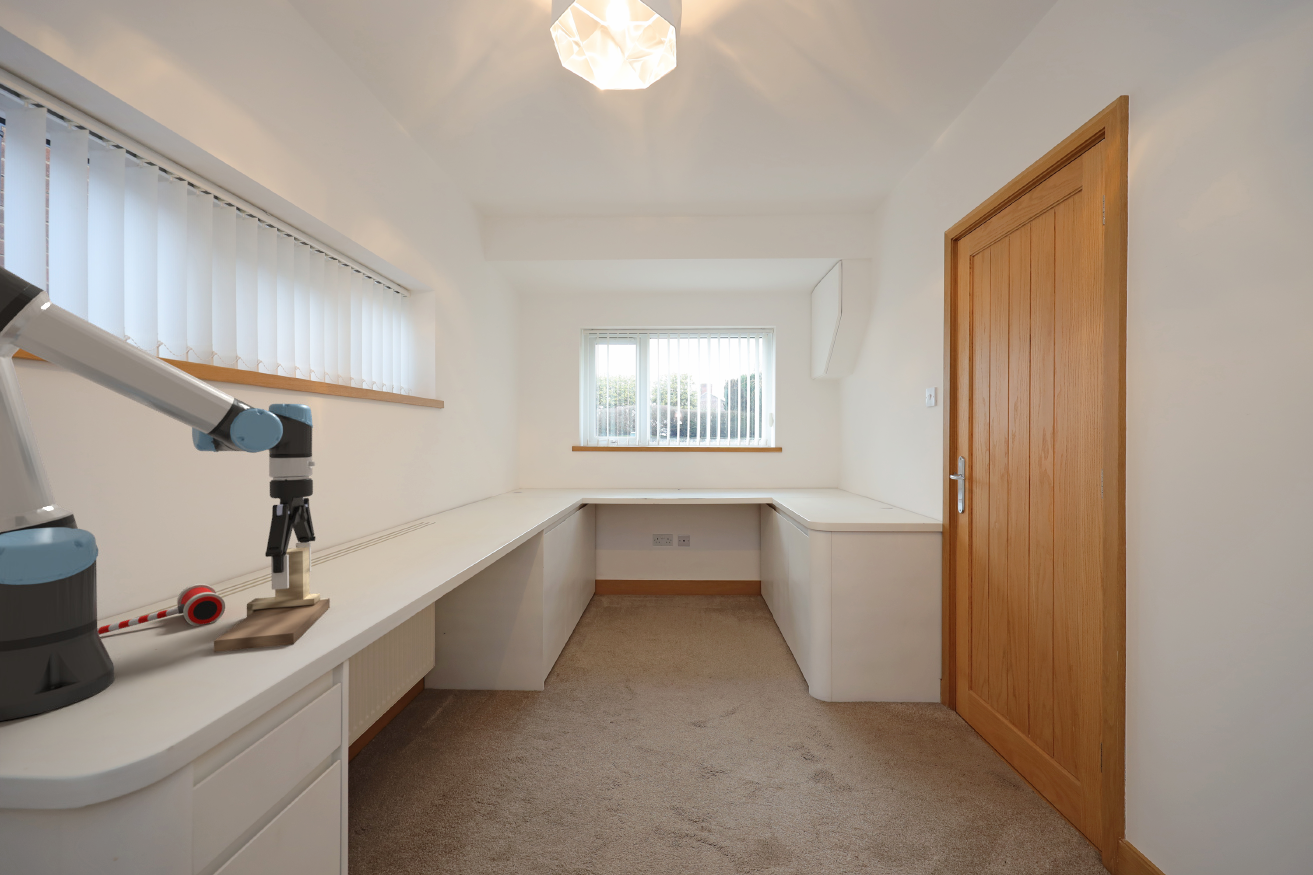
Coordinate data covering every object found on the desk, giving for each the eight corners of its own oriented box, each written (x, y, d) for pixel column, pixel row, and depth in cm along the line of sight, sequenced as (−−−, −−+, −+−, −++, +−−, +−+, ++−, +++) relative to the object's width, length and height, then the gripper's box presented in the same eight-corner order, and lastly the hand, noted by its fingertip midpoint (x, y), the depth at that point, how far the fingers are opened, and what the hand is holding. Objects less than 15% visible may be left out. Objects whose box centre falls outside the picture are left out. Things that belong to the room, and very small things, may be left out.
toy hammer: (60, 655, 95) (59, 618, 95) (61, 638, 103) (60, 604, 103) (225, 622, 112) (225, 590, 112) (215, 609, 120) (215, 580, 120)
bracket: (246, 619, 111) (246, 554, 111) (255, 613, 115) (254, 550, 115) (314, 613, 114) (313, 550, 114) (320, 607, 118) (319, 546, 118)
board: (214, 652, 95) (213, 639, 95) (265, 612, 116) (265, 603, 116) (293, 644, 98) (293, 632, 98) (329, 607, 119) (329, 597, 119)
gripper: (290, 482, 104) (291, 594, 104) (329, 473, 128) (330, 565, 128) (244, 483, 102) (245, 598, 102) (292, 474, 126) (293, 567, 126)
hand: (292, 580), depth 115 cm, fingers open, 13 cm apart
